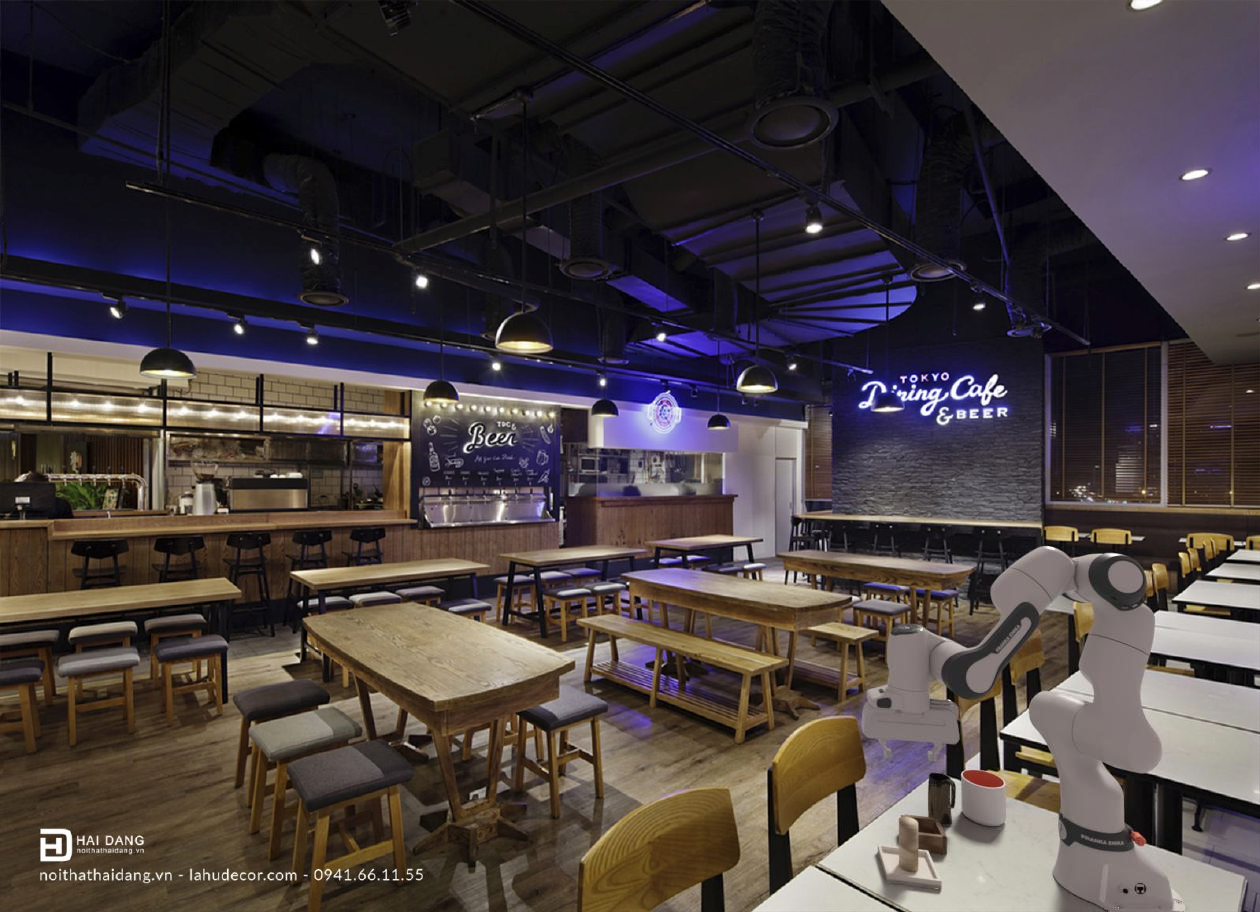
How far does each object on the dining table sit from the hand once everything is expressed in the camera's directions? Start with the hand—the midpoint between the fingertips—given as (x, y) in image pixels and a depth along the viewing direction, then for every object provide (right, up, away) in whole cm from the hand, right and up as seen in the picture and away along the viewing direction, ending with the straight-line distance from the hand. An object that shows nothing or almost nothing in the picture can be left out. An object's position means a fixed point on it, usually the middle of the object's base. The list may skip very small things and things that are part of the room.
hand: (909, 759), depth 141 cm
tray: (-1, -24, -1) cm, 24 cm away
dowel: (-1, -24, -1) cm, 24 cm away
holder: (+7, -25, +9) cm, 27 cm away
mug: (+16, -25, +18) cm, 35 cm away
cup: (+28, -25, +20) cm, 43 cm away
